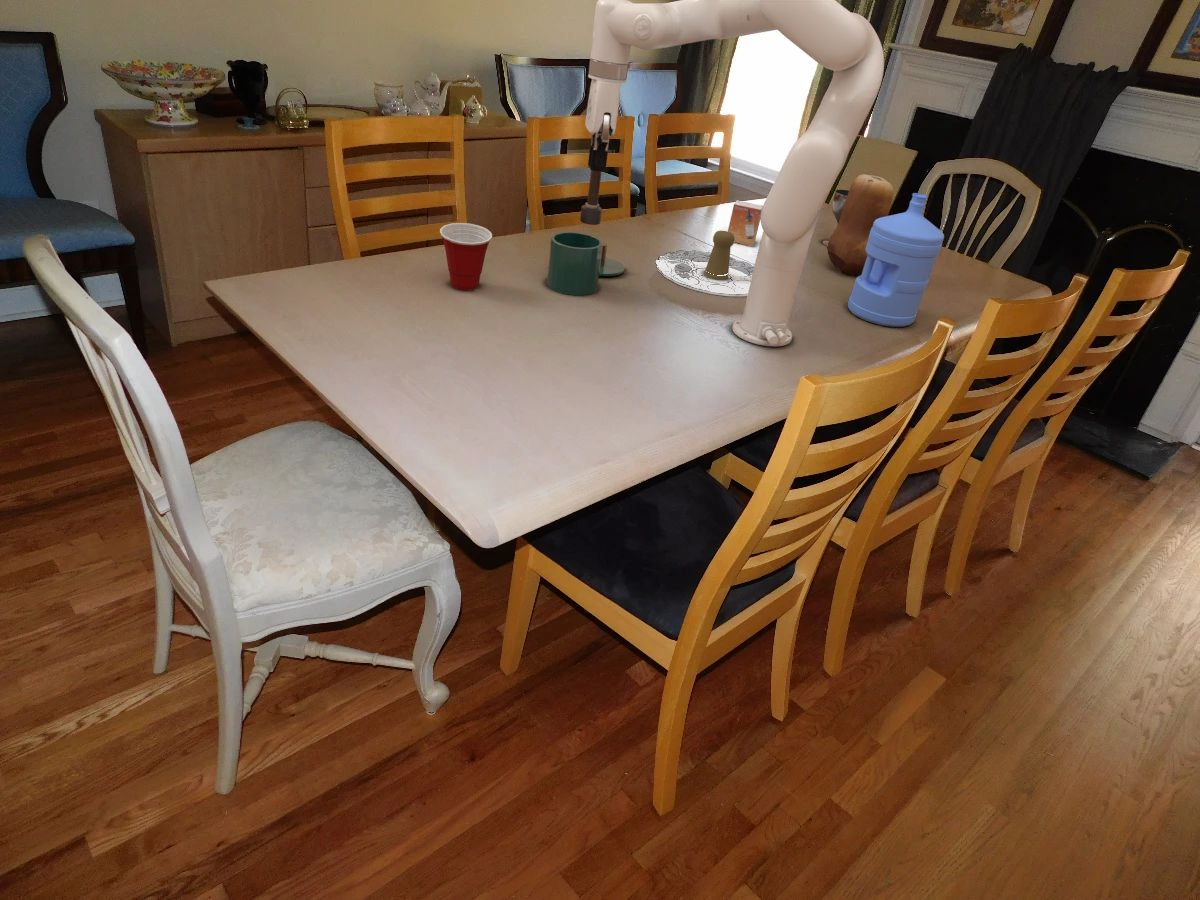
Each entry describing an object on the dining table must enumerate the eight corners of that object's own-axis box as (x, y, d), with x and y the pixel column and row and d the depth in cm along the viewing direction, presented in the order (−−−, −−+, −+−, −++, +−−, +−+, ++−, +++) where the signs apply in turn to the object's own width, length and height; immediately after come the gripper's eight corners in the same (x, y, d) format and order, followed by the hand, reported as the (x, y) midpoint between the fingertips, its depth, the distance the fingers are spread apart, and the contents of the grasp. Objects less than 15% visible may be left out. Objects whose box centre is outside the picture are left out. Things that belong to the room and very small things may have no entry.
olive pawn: (727, 273, 194) (736, 230, 188) (728, 281, 189) (738, 237, 183) (703, 269, 194) (712, 226, 188) (704, 277, 189) (713, 233, 183)
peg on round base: (601, 225, 163) (611, 147, 155) (581, 224, 163) (590, 145, 154) (598, 219, 167) (608, 142, 158) (578, 217, 166) (587, 140, 158)
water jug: (899, 305, 189) (939, 190, 174) (923, 331, 176) (970, 209, 161) (838, 299, 187) (873, 182, 173) (858, 324, 174) (899, 200, 159)
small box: (725, 241, 218) (733, 203, 212) (728, 236, 222) (736, 199, 217) (752, 246, 216) (761, 209, 210) (755, 241, 221) (763, 205, 215)
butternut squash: (881, 276, 207) (913, 182, 194) (854, 283, 199) (885, 185, 186) (838, 260, 215) (866, 168, 202) (811, 266, 207) (837, 171, 194)
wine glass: (815, 240, 230) (829, 189, 222) (836, 239, 233) (850, 189, 225) (832, 249, 224) (847, 197, 216) (853, 248, 227) (869, 197, 219)
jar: (600, 296, 170) (606, 250, 164) (549, 293, 168) (553, 246, 162) (593, 278, 179) (598, 233, 174) (544, 275, 177) (548, 230, 171)
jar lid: (628, 280, 181) (631, 254, 178) (576, 276, 179) (579, 250, 175) (619, 262, 191) (622, 237, 188) (570, 258, 189) (572, 234, 185)
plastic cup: (445, 296, 159) (445, 239, 153) (434, 277, 168) (434, 222, 161) (495, 294, 163) (498, 239, 157) (483, 276, 172) (485, 222, 165)
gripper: (583, 63, 155) (574, 158, 165) (595, 75, 142) (583, 177, 152) (619, 68, 156) (608, 161, 166) (634, 79, 143) (620, 180, 153)
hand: (596, 168), depth 159 cm, fingers closed on peg on round base, 2 cm apart
